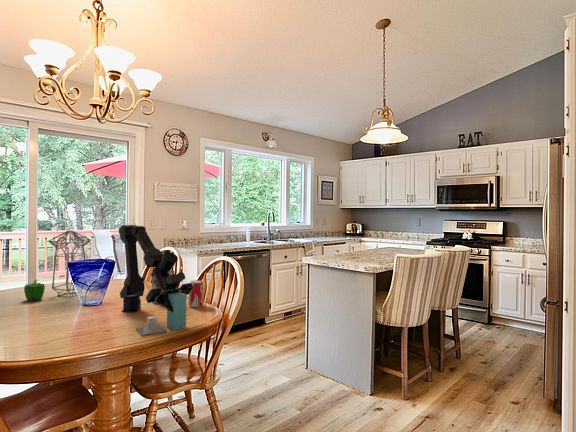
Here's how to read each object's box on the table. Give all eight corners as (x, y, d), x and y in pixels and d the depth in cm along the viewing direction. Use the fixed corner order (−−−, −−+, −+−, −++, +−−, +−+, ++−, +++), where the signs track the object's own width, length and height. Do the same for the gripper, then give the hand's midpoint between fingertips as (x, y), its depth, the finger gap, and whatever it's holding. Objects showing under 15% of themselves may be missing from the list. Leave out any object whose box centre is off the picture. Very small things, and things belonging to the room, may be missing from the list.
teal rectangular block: (166, 327, 139) (167, 294, 139) (178, 324, 143) (178, 292, 143) (174, 330, 136) (175, 296, 136) (185, 326, 140) (186, 294, 140)
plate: (135, 329, 136) (135, 328, 136) (159, 325, 141) (159, 324, 141) (141, 336, 129) (141, 334, 129) (166, 331, 134) (166, 330, 134)
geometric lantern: (92, 293, 195) (93, 229, 194) (70, 300, 179) (71, 231, 178) (67, 291, 197) (68, 228, 196) (43, 298, 182) (44, 230, 181)
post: (146, 328, 135) (147, 317, 135) (153, 327, 137) (154, 316, 137) (148, 330, 133) (148, 318, 133) (155, 329, 135) (156, 317, 135)
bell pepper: (36, 302, 173) (37, 281, 173) (20, 301, 174) (20, 281, 174) (48, 297, 182) (48, 278, 182) (32, 297, 182) (33, 278, 182)
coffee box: (174, 302, 178) (175, 270, 178) (165, 305, 172) (166, 272, 172) (160, 300, 182) (160, 269, 182) (151, 303, 176) (151, 270, 176)
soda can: (199, 308, 168) (199, 283, 168) (185, 307, 169) (186, 282, 169) (205, 304, 174) (206, 280, 174) (192, 303, 176) (193, 279, 176)
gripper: (150, 268, 135) (166, 302, 128) (191, 263, 149) (207, 293, 143) (139, 286, 140) (153, 319, 133) (179, 279, 154) (194, 309, 147)
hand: (178, 309), depth 139 cm, fingers closed on teal rectangular block, 5 cm apart
